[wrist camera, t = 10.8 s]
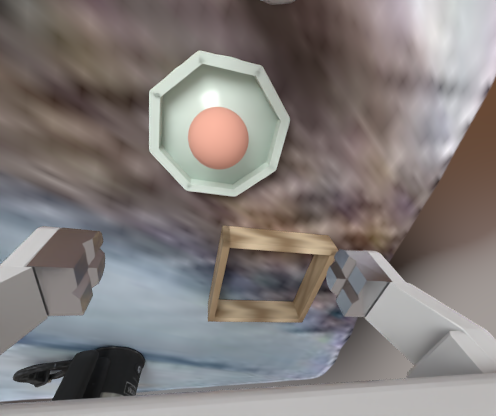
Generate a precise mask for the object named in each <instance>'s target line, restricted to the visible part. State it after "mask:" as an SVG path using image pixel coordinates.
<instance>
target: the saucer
mask: <svg viewBox="0 0 496 416" xmlns="http://www.w3.org/2000/svg"><path fill="white" fill-rule="evenodd" d="M211 107H224V108H227V109H230V110H232V111H233V112H235V113H236V114H237V115H239V116H240V118H241V119H242V120H243V122H244V123H245V125H246V128H247V131H248V137H249V142H248V148H247V151H246V153H245V155H244V156H243V158H242V159H241V160H240V161H239V162H238V163H237V164H235V165H234V166H232V167H230V168H227V169H212V168H209V167H206V166H204V165H203V164H201V163H200V162H199V161H198V160H197V159H196V158H195V157H194V155H193V154H192V152H191V150H190V147H189V143H188V132H189V128H190V125H191V123H192V121H193V119H194V118H195V117H196V116H197V115H198V114H199V113H200V112H202V111H203V110H205V109H207V108H211ZM289 123H290V117H289V115H288V114H287V112H286V110H285V108H284V106H283V104H282V102H281V100H280V98H279V97H278V95H277V93H276V91H275V89H274V87H273V85H272V83H271V81H270V80H269V78H268V76H267V74H266V72H265V70H264V68H263V66H261V65H257V64H253V63H249V62H245V61H241V60H239V59H236V58H233V57H229V56H223V55H217V54H212V53H208V52H204V51H197V52H196V53H195V54H194V55H192V56H191V57H190V58H189V59H188V60H186V61H185V62H184V63H183V64H181V65H180V66H178V67H177V68H176V69H174V70H173V71H172V72H171V73H170V74H169V75H168V76H167V77H166V78H164V79H163V80H162V81H161V82H159V83H158V84H157V85H156V86H155V87H153V88H152V89H151V90H150V91H149V152H150V153H151V154H152V155H153V156H154V157H155V158H156V159H157V160H158V161H159V162H160V163H161V164H162V165H163V166H164V168H165V169H166V170H167V171H168V172H169V173H170V174H171V175H172V176H173V177H174V178H175V179H176V180H177V181H178V182H179V184H180V185H181V186H182V187H183V188H184V189H185V190H187V191H192V192H201V193H209V194H217V195H225V196H233V197H235V196H237V195H239V194H240V193H242V192H243V191H245V190H246V189H248V188H250V187H251V186H253V185H254V184H256V183H257V182H259V181H260V180H262V179H263V178H265V177H267V176H268V175H270V174H271V173H273V172H274V171H276V169H277V165H278V162H279V158H280V155H281V151H282V148H283V144H284V141H285V137H286V133H287V130H288V126H289Z"/></svg>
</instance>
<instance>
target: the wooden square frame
mask: <svg viewBox="0 0 496 416" xmlns="http://www.w3.org/2000/svg"><path fill="white" fill-rule="evenodd" d="M230 248H239V249H253V250H266V251H279V252H292V253H305V254H314V256H313V258H312V261H311V263H310V265H309V267H308V270H307V272H306V274H305V276H304V279H303V281H302V283H301V285H300V287H299V290H298V292H297V294H296V296H295V299H294V301H293V302H286V301H253V300H219V295H220V290H221V286H222V281H223V276H224V272H225V267H226V263H227V258H228V253H229V249H230ZM337 251H338V249H337V248H336V246H335V245H334V243H333V242H332V240H331V239H330V237H329V236H327V235H317V234H306V233H296V232H285V231H275V230H264V229H254V228H243V227H233V226H222V231H221V237H220V242H219V247H218V253H217V258H216V263H215V269H214V274H213V279H212V285H211V290H210V295H209V301H208V321H216V322H303V320H304V318H305V316H306V314H307V312H308V310H309V308H310V306H311V304H312V302H313V300H314V298H315V296H316V294H317V292H318V290H319V288H320V286H321V284H322V282H323V281H324V279H325V277H326V275H327V271H328V268H329V266H330V265H332V263H333V261H334V256H335V254H336V252H337Z"/></svg>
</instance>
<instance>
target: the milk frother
mask: <svg viewBox="0 0 496 416" xmlns="http://www.w3.org/2000/svg"><path fill="white" fill-rule="evenodd" d="M144 364H145V360H144V357H143V356H142V355H141V354H140V353H139V352H137V351H135V350H132V349H130V348H124V347H105V348H99V349H96V350H88V351H83V352H79V353H77V354H76V355H75V357H74V358H73V360H69V361H61V362H53V363H44V364H39V365H34V366H30V367H27V368H24V369H21V370H19V371H17V372H16V373H15V374H14V376H13V380H14V381H17V382H27V383H30V384H33V385H34V386H35V387H39V386H42V385H45V384H46V383H49V382H51V380H52V379H57V378H61V377H63V376H64V378H63V380H62V382H61V384H60V385H59V387H58V389H57V391H56V393H55V395H54V397H53V399H52V401H57V400H73V399H89V398H104V397H120V396H135V395H136V391H137V387H138V382H139V378H140V374H141V371H142V368H143V367H144ZM50 370H62V371H60V372H57V373H54V374H50Z"/></svg>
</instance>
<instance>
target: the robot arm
mask: <svg viewBox="0 0 496 416" xmlns="http://www.w3.org/2000/svg"><path fill="white" fill-rule="evenodd" d="M102 243H103V237H102V233H101V232H100V231H91V230H81V229H70V228H58V227H46V226H43V227H39V228H37V229H36V230H35V231H34V232H33V233H32V234H31V235H30V236H29V237H28V238H27V239H26V240H25V241H24V242H23V243H22V244H21V245H20V246H19V247H18V248H17V249H16V250H15V251H14V252H13V253H12V254H11V255H10V256H9V257H8V258H7V259H6V260H5V261H4V262H3V263H2V264H1V265H0V355H1V354H2V353H4V352H5V351H6V350H7V349H9V348H10V347H11V346H13V345H14V344H15V343H16V342H18V341H19V340H20V339H21V338H23V337H24V336H25V335H27V334H28V333H29V332H30V331H32V330H33V329H34V328H35V327H37V326H38V325H39V324H41V323H42V322H43V321H44V320H46V319H47V318H48V316H69V315H83V314H84V312H85V310H86V308H87V306H88V304H89V302H90V300H91V298H92V296H93V293H92V288H93V287H94V286H96V285H97V284H99V282H100V280H101V277H102V275H103V271H104V267H105V253H104V252H103V251H102V250H101V249H100V247H101V245H102ZM334 259H335V262H334V263H333V264H332V265H330V266H329V268H328V271H327V278H326V280H327V284H328V286H329V288H330V290H331V291H332V292H333V293H334V294H335V295H337V297H336V302H337V304H338V306H339V308H340V309H341V311H342V313H343V315H344V316H345V317H365V319H366V320H367V321H368V322H369V323H370V324H371V325H372V326H374V327H375V328H376V329H377V330H378V331H379V332H380V333H381V334H382V335H383V336H384V337H385V338H386V339H387V340H388V341H389V342H391V344H392V345H394V346H395V347H396V348H397V349H398V350H399V351H400V352H401V353H402V354H403V355H404V356H405V357H406V358H407V359H408V360H409V361H410V362H411V363H412V364H414V367H413V368H411V370H409V372H407V378H404V379H389V380H372V381H356V382H341V383H325V384H309V385H293V386H278V387H261V388H246V389H232V390H231V389H230V390H214V391H198V392H183V393H167V394H151V395H136V396H120V397H104V398H89V399H73V400H57V401H42V402H26V403H10V404H0V416H496V339H495V338H494V337H493V336H492V335H491V334H490V333H489V332H488V331H487V330H486V329H484V328H483V327H481V326H479V325H477V324H476V323H474V322H473V321H471V320H469V319H467V318H466V317H464V316H463V315H461V314H459V313H458V312H456V311H454V310H453V309H451V308H450V307H448V306H446V305H445V304H443V303H442V302H440V301H438V300H437V299H435V298H433V297H432V296H430V295H428V294H427V293H425V292H423V291H422V290H420V289H419V288H417V287H415V286H414V285H412V284H410V283H406V282H405V281H404V280H403V279H402V278H401V276H400V275H399V274H398V273H397V272H396V271H395V270H394V269H393V267H392V266H391V265H390V264H389V263H388V262H387V261H386V260H385V258H384V257H383V256H382V255H381V254H380V253H378V252H376V251H358V250H343V249H340V250H339V251H337V252H336V254H335V256H334Z"/></svg>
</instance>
